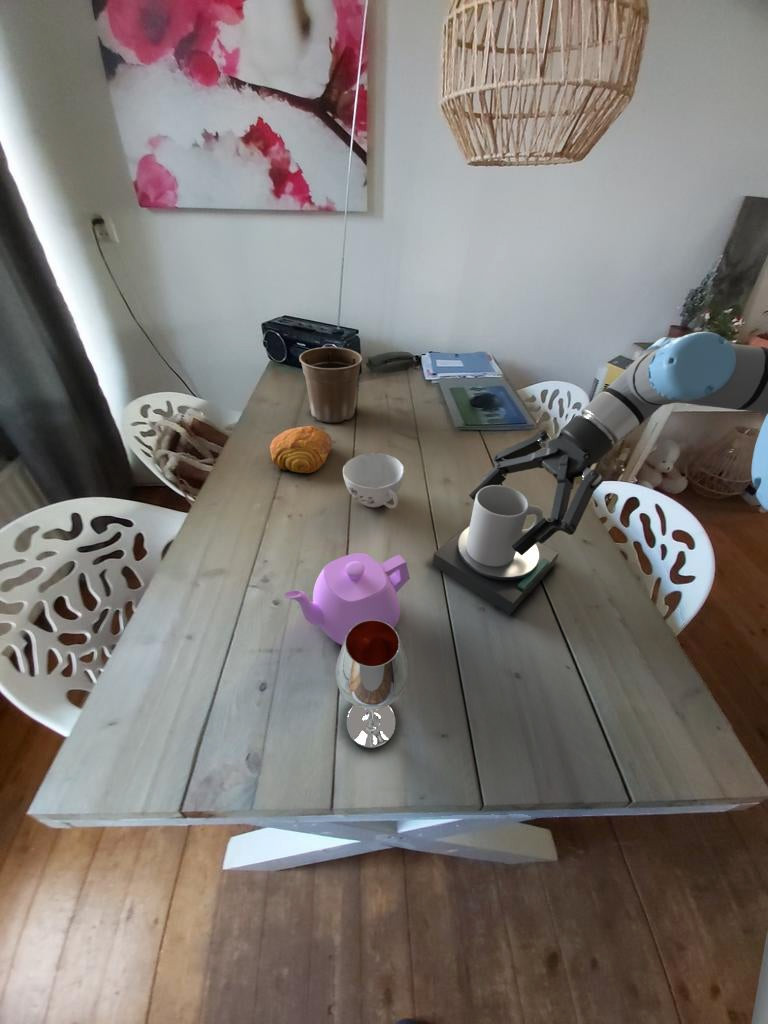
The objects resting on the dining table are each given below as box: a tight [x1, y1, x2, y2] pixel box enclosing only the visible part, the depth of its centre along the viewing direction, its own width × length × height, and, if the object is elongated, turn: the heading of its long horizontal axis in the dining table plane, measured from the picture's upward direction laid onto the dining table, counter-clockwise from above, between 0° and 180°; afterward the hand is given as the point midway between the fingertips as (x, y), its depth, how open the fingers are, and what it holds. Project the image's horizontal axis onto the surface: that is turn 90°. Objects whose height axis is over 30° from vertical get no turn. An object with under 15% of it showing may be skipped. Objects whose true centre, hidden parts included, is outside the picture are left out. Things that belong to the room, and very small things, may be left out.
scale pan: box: [458, 526, 539, 580], centre depth 78 cm, size 14×14×1 cm
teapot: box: [283, 552, 411, 646], centre depth 67 cm, size 13×20×11 cm, turn 119°
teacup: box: [342, 452, 405, 509], centre depth 91 cm, size 15×12×8 cm
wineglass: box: [334, 620, 409, 749], centre depth 52 cm, size 8×8×18 cm
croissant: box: [269, 425, 332, 474], centre depth 105 cm, size 14×16×8 cm
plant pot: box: [298, 346, 363, 424], centre depth 120 cm, size 16×16×16 cm
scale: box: [432, 524, 560, 616], centre depth 79 cm, size 16×16×4 cm
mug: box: [466, 484, 544, 567], centre depth 74 cm, size 12×8×11 cm
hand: (493, 523), depth 73 cm, fingers open, 13 cm apart
